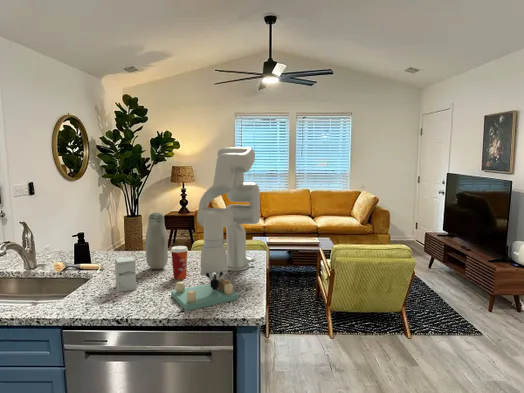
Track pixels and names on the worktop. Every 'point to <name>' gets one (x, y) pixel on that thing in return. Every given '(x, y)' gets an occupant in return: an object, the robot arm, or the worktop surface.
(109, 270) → the worktop surface
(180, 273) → the paper cup
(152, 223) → the grey ceramic bottle
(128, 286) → the supplement box
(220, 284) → the folding leg
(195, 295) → the stool seat
